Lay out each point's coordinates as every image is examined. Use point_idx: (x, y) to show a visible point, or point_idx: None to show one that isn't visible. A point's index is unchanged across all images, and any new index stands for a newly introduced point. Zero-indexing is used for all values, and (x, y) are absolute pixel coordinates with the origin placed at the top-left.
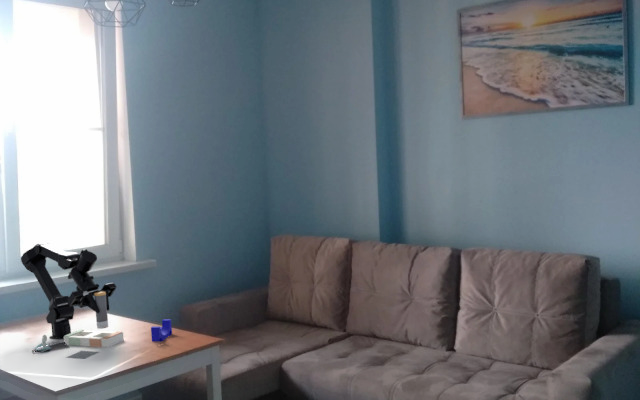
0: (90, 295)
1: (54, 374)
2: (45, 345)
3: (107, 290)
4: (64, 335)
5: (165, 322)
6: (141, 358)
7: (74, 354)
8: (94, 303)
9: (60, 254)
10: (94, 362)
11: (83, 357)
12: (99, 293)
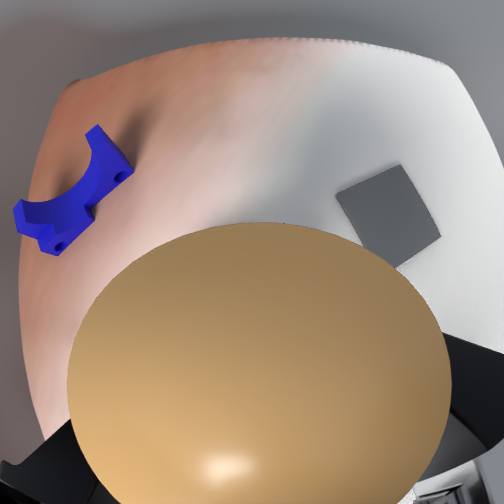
0: (500, 394)
1: (465, 136)
2: None
3: (21, 476)
4: None
5: (29, 214)
6: (259, 62)
7: (414, 246)
8: None
9: None
10: (377, 125)
11: (400, 180)
12: (338, 340)
